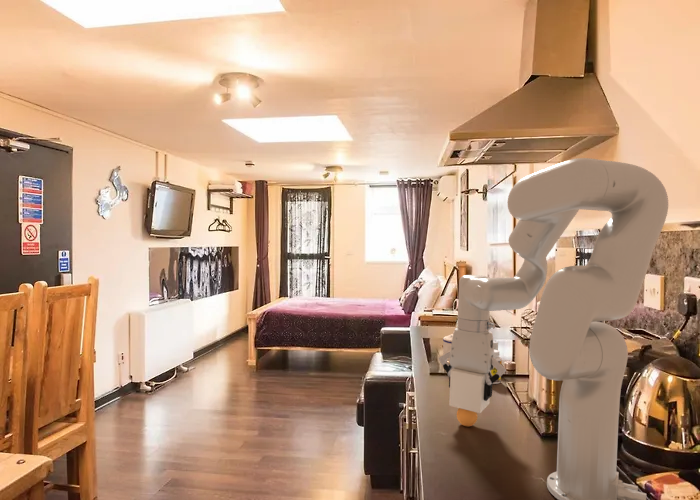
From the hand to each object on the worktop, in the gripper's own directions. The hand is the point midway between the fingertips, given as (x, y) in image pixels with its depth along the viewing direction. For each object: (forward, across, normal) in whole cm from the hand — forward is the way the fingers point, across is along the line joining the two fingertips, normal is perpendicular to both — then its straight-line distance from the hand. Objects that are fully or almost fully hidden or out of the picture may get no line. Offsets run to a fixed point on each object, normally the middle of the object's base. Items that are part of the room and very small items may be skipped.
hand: (469, 394), depth 110 cm
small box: (+8, +11, -48) cm, 50 cm away
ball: (+5, 0, +1) cm, 5 cm away
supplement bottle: (+8, +4, -37) cm, 38 cm away
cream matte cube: (+3, 0, 0) cm, 3 cm away
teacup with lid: (+8, +23, -52) cm, 58 cm away
